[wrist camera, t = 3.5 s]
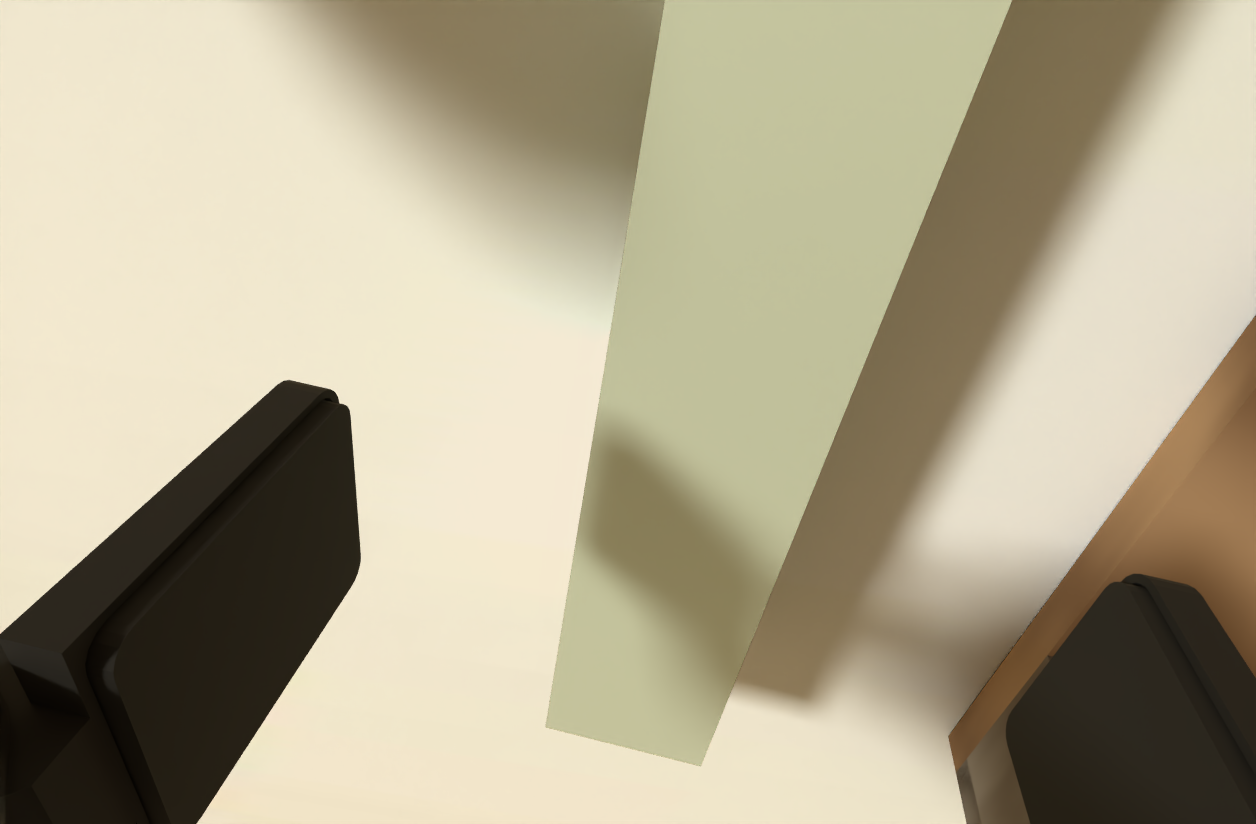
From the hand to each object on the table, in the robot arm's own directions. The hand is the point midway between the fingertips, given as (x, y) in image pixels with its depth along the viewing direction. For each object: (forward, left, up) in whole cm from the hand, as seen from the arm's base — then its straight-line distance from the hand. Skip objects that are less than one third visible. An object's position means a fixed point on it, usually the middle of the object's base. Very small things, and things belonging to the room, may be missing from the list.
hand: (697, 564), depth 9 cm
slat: (0, 0, -9) cm, 9 cm away
